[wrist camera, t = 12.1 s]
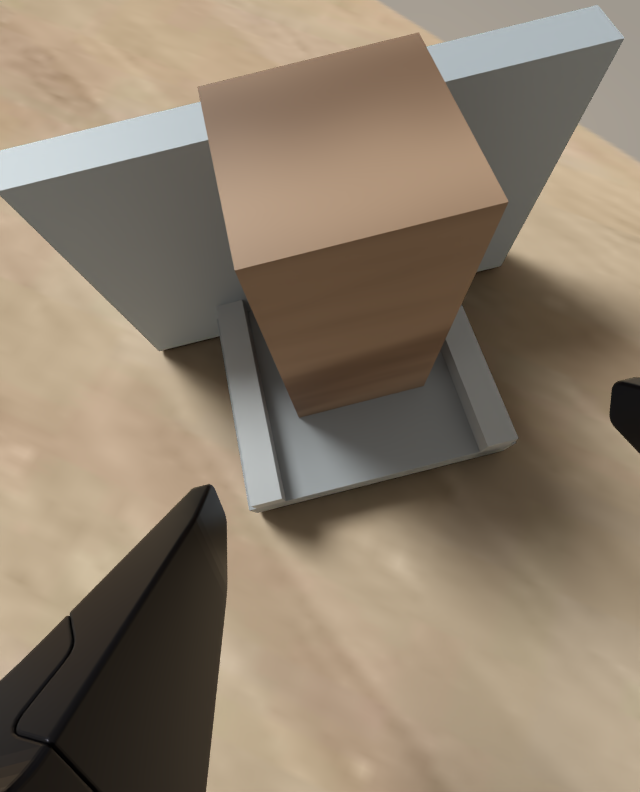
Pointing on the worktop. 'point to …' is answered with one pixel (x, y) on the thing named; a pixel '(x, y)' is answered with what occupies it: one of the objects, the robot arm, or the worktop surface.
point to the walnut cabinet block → (351, 215)
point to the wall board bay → (222, 292)
